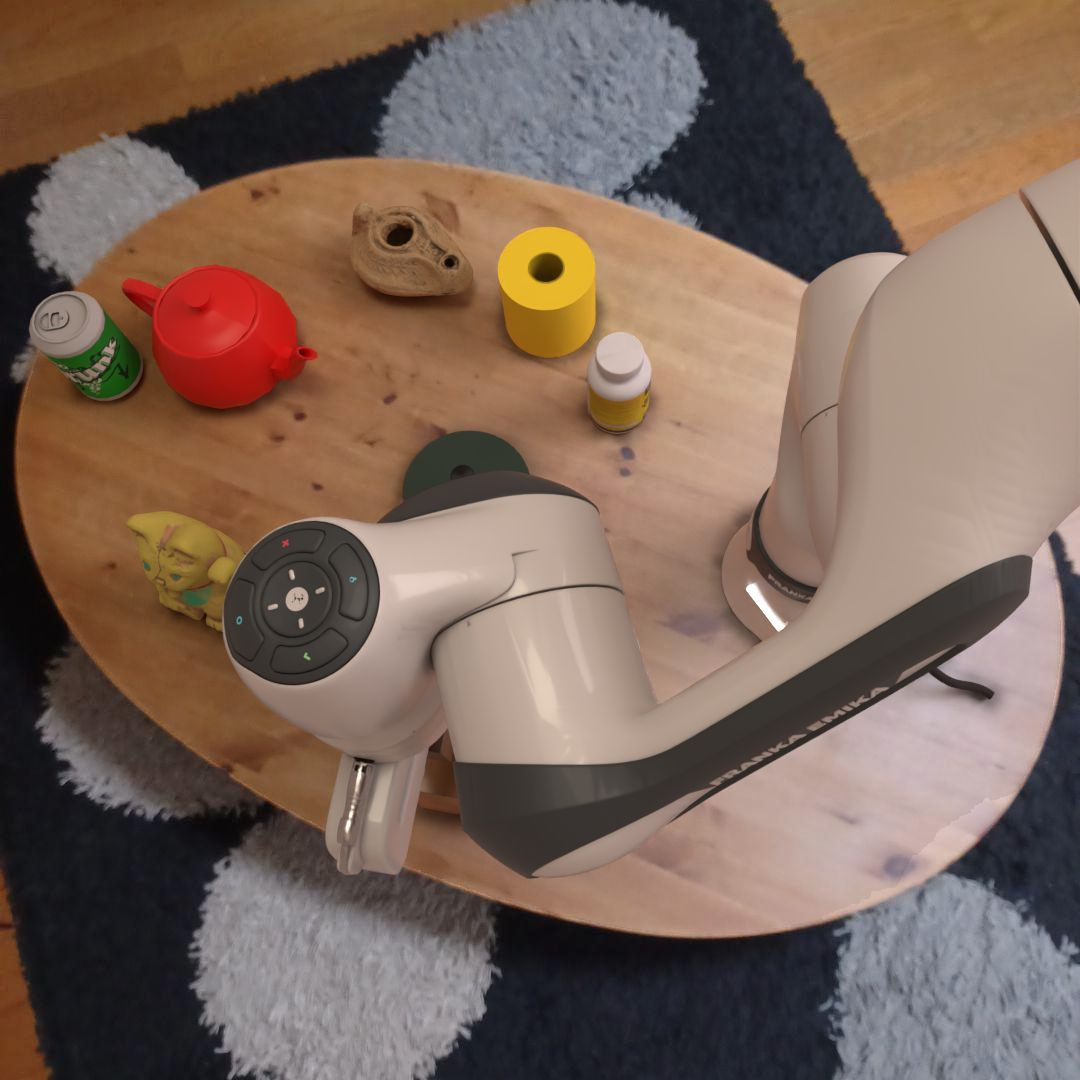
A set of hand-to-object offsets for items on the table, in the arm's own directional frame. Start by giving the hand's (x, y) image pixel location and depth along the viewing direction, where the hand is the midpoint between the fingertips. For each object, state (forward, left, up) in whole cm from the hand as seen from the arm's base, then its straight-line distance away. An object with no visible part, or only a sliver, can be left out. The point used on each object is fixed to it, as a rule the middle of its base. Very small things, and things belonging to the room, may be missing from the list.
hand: (423, 720), depth 69 cm
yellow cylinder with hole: (+1, -50, -29) cm, 57 cm away
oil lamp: (+17, -54, -29) cm, 63 cm away
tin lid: (+6, -28, -28) cm, 40 cm away
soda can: (+48, -36, -29) cm, 66 cm away
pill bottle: (-8, -40, -29) cm, 50 cm away
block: (0, 0, -1) cm, 1 cm away
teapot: (+34, -40, -29) cm, 60 cm away
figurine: (+29, -14, -29) cm, 43 cm away
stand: (0, 0, -28) cm, 28 cm away
